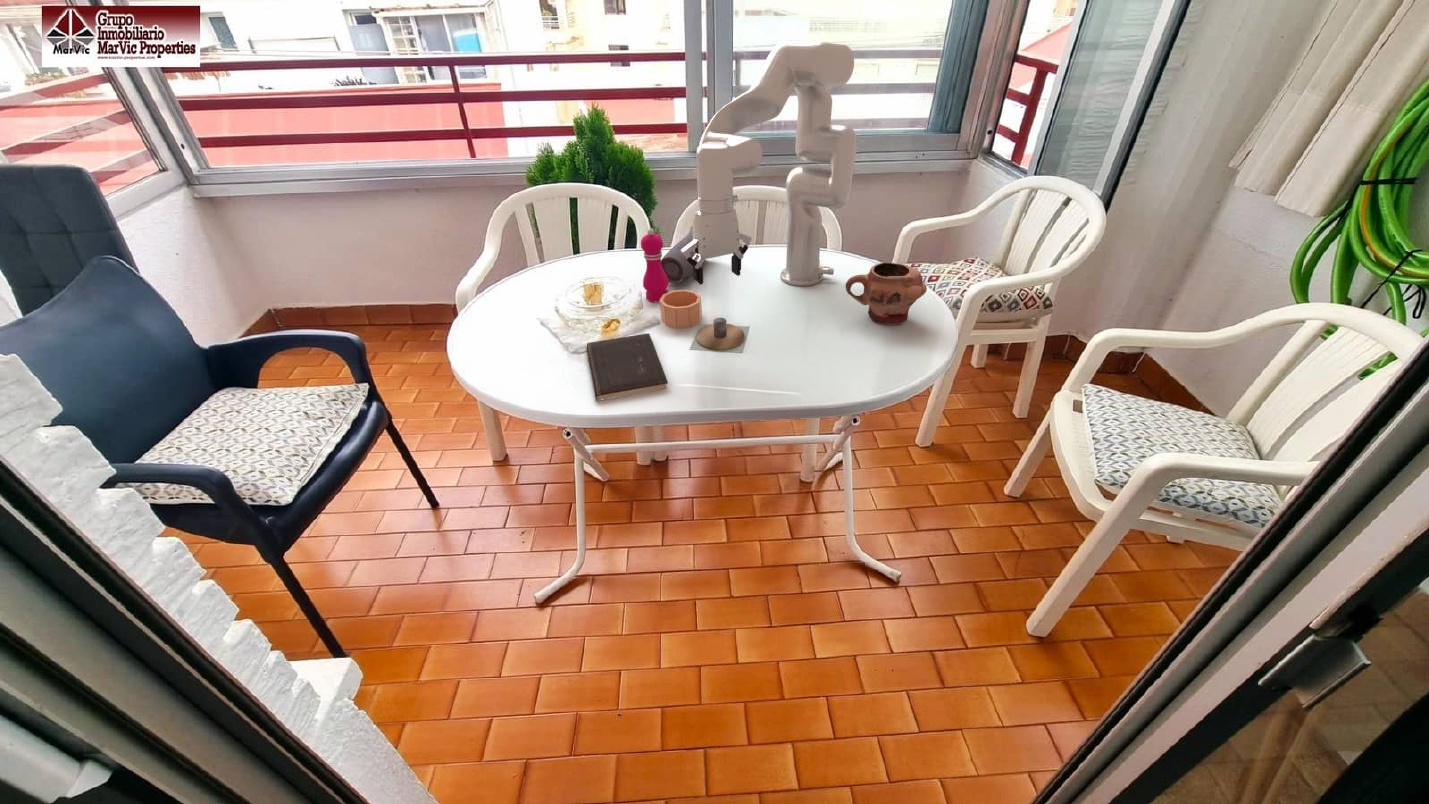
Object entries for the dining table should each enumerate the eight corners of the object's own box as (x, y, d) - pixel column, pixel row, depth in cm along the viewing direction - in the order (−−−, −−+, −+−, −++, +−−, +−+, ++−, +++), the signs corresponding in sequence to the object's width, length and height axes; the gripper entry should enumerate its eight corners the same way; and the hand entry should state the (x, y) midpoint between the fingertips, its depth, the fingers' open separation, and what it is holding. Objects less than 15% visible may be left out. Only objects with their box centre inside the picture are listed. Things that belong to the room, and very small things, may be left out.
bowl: (704, 310, 157) (703, 290, 154) (696, 330, 149) (695, 309, 145) (667, 308, 159) (666, 288, 155) (657, 327, 150) (655, 307, 147)
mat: (749, 327, 149) (749, 326, 149) (742, 354, 139) (742, 352, 138) (700, 324, 151) (700, 323, 151) (689, 350, 141) (689, 349, 141)
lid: (747, 327, 148) (747, 310, 146) (740, 351, 139) (740, 334, 136) (701, 324, 150) (700, 308, 147) (692, 348, 141) (690, 331, 138)
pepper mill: (671, 291, 167) (666, 224, 156) (667, 303, 162) (661, 233, 150) (647, 291, 168) (639, 223, 156) (642, 302, 162) (634, 233, 151)
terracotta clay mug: (846, 330, 146) (852, 279, 138) (838, 308, 156) (844, 259, 148) (925, 328, 146) (936, 277, 137) (913, 306, 156) (922, 257, 147)
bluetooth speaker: (687, 289, 168) (685, 257, 163) (658, 285, 171) (655, 253, 165) (714, 260, 185) (713, 229, 179) (688, 256, 188) (686, 226, 182)
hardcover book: (650, 340, 146) (649, 332, 145) (668, 390, 128) (667, 382, 127) (586, 351, 143) (585, 343, 142) (596, 403, 125) (595, 395, 124)
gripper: (742, 193, 131) (742, 265, 141) (672, 206, 125) (677, 280, 135) (758, 202, 125) (757, 276, 135) (686, 216, 119) (690, 292, 129)
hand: (717, 278), depth 135 cm, fingers open, 9 cm apart
